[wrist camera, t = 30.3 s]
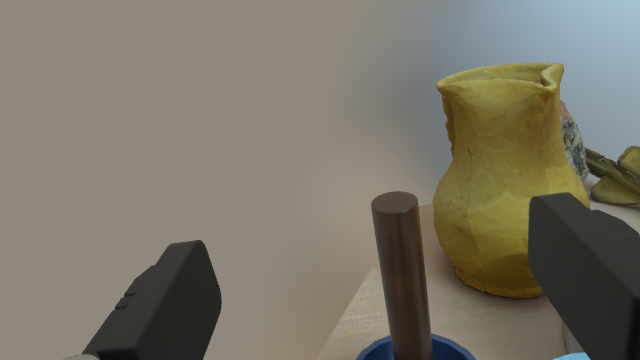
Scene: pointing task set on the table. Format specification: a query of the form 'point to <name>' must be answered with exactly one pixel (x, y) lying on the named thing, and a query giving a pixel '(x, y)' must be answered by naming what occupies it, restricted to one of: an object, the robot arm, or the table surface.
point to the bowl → (445, 351)
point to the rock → (573, 144)
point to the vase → (574, 357)
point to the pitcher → (500, 171)
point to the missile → (616, 177)
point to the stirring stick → (403, 274)
